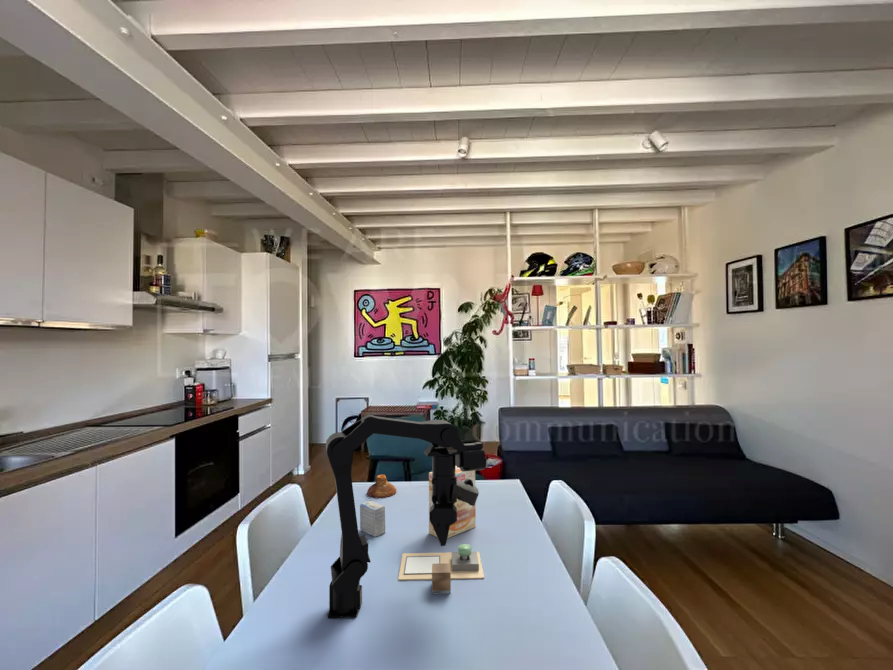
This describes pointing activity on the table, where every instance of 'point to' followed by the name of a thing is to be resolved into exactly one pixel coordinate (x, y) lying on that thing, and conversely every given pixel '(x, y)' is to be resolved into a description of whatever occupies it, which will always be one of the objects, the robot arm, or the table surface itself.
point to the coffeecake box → (464, 510)
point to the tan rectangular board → (421, 566)
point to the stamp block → (441, 578)
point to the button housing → (465, 562)
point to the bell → (381, 488)
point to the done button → (464, 550)
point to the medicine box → (372, 518)
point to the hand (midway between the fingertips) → (443, 537)
